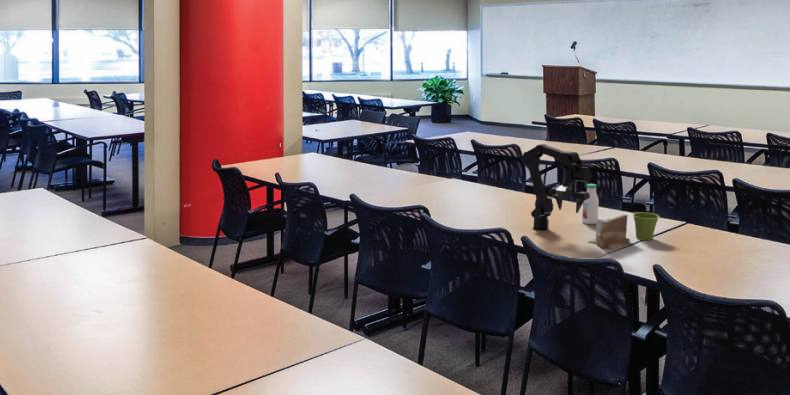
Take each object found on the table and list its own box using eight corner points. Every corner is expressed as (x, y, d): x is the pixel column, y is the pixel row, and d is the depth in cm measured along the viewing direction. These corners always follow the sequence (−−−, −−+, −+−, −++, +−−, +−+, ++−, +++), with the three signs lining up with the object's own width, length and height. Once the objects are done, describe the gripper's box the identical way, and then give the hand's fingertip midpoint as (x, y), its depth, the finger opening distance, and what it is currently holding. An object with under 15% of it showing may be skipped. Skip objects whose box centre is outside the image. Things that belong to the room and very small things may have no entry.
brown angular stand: (583, 244, 331) (584, 218, 329) (605, 235, 345) (606, 211, 343) (609, 249, 322) (611, 223, 320) (631, 241, 336) (633, 216, 333)
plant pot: (630, 240, 337) (631, 217, 335) (632, 234, 348) (633, 211, 346) (657, 242, 333) (658, 219, 331) (658, 236, 344) (659, 213, 341)
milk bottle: (598, 221, 373) (600, 183, 368) (597, 225, 365) (599, 186, 361) (582, 220, 375) (584, 182, 371) (581, 223, 368) (583, 185, 364)
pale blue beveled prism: (595, 240, 335) (596, 218, 333) (601, 238, 339) (602, 217, 336) (605, 242, 332) (606, 220, 329) (611, 240, 335) (612, 218, 333)
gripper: (543, 178, 341) (542, 210, 344) (578, 183, 328) (576, 217, 331) (556, 175, 349) (555, 207, 352) (591, 180, 336) (589, 213, 339)
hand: (568, 211), depth 343 cm, fingers open, 9 cm apart
